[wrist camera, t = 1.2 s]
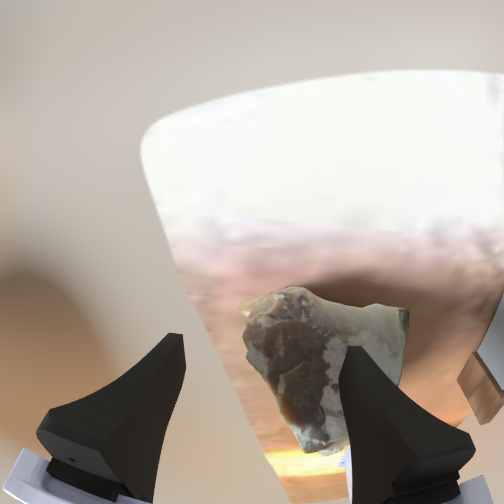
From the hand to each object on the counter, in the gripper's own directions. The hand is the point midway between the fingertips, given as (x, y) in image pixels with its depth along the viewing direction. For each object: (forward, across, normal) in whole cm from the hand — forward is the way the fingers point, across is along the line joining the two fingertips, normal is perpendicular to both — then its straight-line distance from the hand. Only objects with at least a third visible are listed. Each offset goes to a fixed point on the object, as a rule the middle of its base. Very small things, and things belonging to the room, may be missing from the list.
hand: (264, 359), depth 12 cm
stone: (+2, -9, +4) cm, 10 cm away
